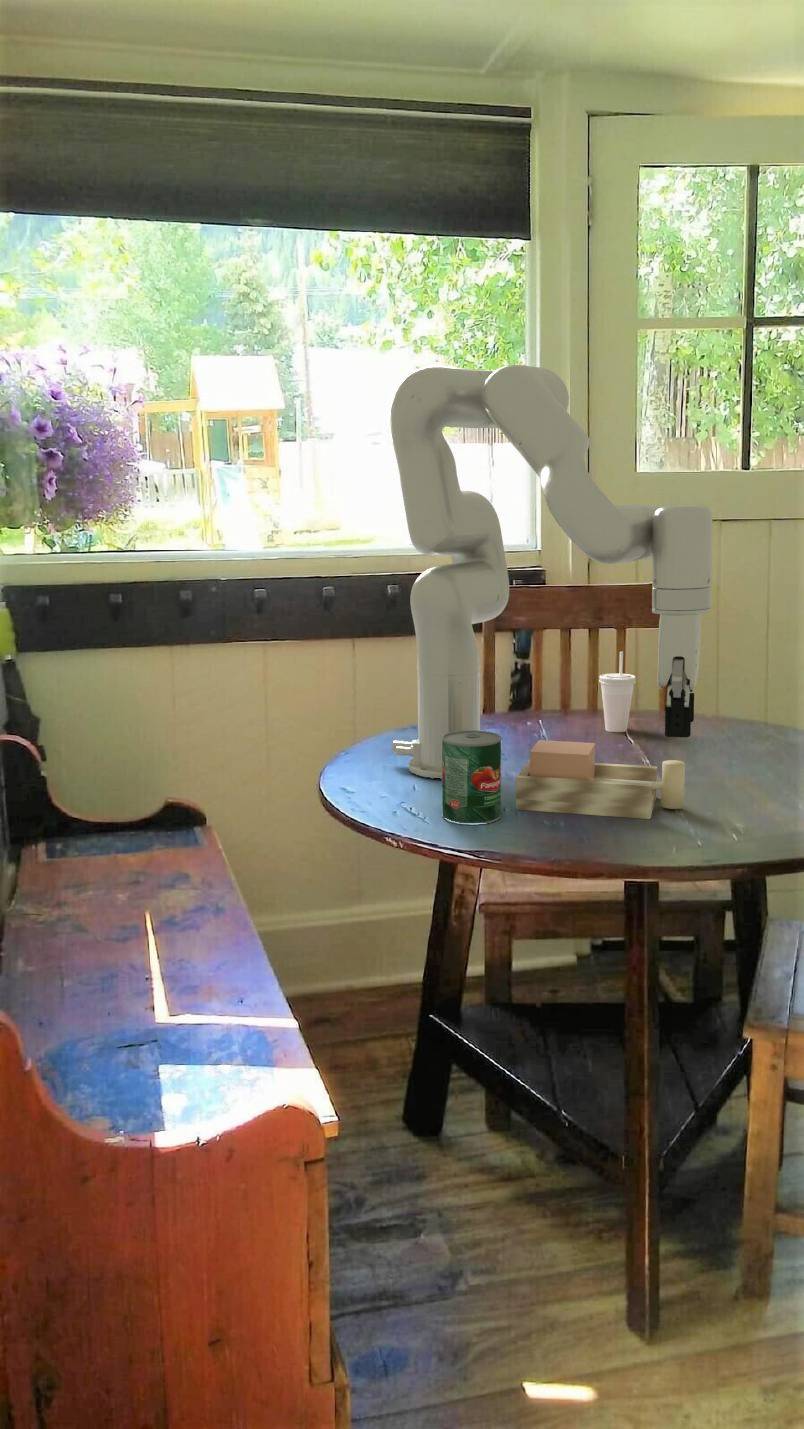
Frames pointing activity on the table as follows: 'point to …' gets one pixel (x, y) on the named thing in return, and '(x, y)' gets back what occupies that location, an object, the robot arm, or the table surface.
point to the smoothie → (617, 698)
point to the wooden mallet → (580, 764)
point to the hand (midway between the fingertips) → (679, 728)
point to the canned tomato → (471, 776)
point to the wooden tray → (590, 792)
